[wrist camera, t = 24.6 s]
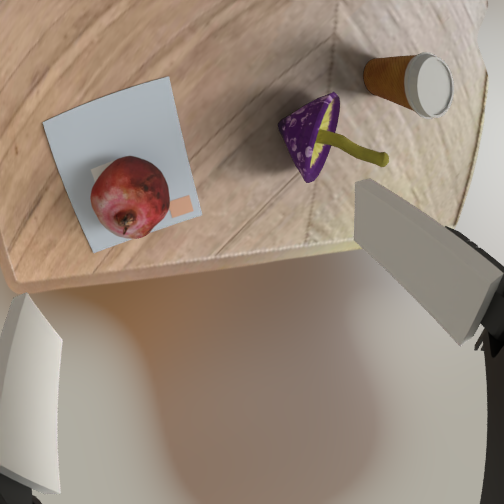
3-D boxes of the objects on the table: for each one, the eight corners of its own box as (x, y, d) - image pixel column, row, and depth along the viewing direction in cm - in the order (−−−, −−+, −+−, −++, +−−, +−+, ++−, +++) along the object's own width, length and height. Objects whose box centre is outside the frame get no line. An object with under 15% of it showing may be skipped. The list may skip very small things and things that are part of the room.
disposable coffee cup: (370, 115, 43) (427, 133, 33) (345, 64, 37) (405, 70, 28) (405, 88, 42) (461, 101, 33) (384, 40, 36) (443, 43, 27)
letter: (43, 122, 28) (42, 122, 27) (168, 76, 31) (169, 76, 31) (94, 252, 39) (93, 253, 38) (201, 214, 42) (202, 215, 42)
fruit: (159, 143, 35) (172, 161, 27) (169, 212, 40) (184, 249, 32) (86, 159, 32) (76, 184, 24) (102, 229, 37) (101, 270, 29)
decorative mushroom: (408, 104, 27) (279, 66, 31) (373, 212, 31) (246, 165, 35) (398, 126, 38) (302, 95, 42) (371, 206, 42) (277, 170, 46)
